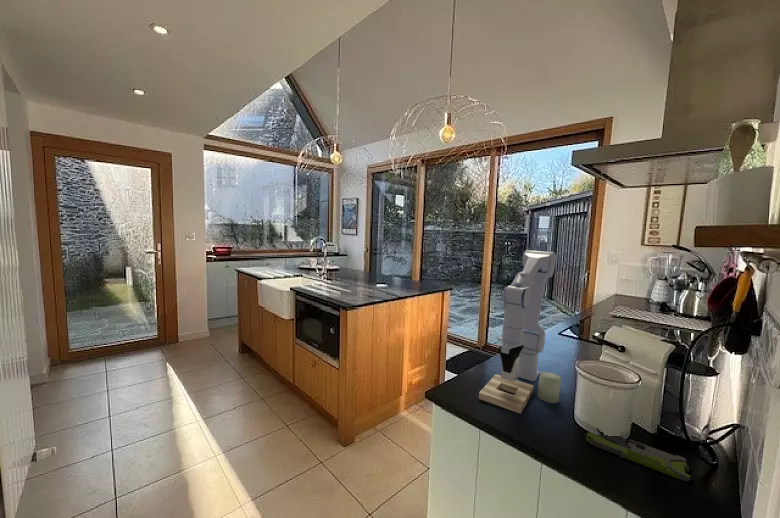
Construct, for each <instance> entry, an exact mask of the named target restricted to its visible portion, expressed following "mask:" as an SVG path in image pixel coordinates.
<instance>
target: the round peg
mask: <svg viewBox="0 0 780 518" xmlns="http://www.w3.org/2000/svg"><path fill="white" fill-rule="evenodd" d="M538 378H539V379H538V387H537V395H536V396H537V398H538V399H539V400H540V401H543V402H546V403H549V404H558V403H559V400H560V390H561V382H562V378H561V376H559V375H558V374H556V373H553V372H549V371H541V372H540V373H539V377H538Z"/></svg>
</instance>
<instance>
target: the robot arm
mask: <svg viewBox="0 0 780 518" xmlns="http://www.w3.org/2000/svg"><path fill="white" fill-rule="evenodd" d="M556 256H557V255H556V253H555V251H541V250H529V249H526V250H524V252H523V255H522V261H521V262H522V265H523V268H522V271H519V272H518V273H517V274H516V275H515V277H514V279H513V281H512V282H511V284H510V285H508V286H505V288H504V289H503V292H502V293H503V294H502V302H503V304H502V305H503V306H502V309H503V310H504V311H503V312H504V313H503V323H502V333H501V334H502V336H498V337H497V340H498V341H500V342H501V346H499V347H498V348H497V352H498V353H499V356H500V358H501V359H500V360H501V368H502V367H503V371H504V372H507V373H511V371H512V368H513V364H514V361H515V358H516V356H517V355H520V358H519V368H518V378H520V379H523V380H526V381H530V382H533V383H534V382H535V381H536V380H537V378H539V377H538V376H540V373H541V372H540V371H539V370H538V363H539V362H538V361H539V354H540V353H542V352H543V351H544V348H545V341H546V338H545V337H546V331H545V330H544V329H543V327H541V326H540V324H539V321H540V315H541V310H542V309H541V308H542V305H543V304H542V302H543V299H544V291H545V287H546V283H547V280H548V279H550V278H552V277H553V275H554V273H555V268H556V261H557V257H556Z"/></svg>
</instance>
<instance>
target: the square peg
mask: <svg viewBox="0 0 780 518" xmlns="http://www.w3.org/2000/svg"><path fill="white" fill-rule="evenodd" d="M519 358H520V355H517V356H516V358H515V361H514V364H513V368H512V371H511V373H507V372H504V371H503V367H502V366H501V368H500V369H501V370H500V376H501V378H502V379H506V380H509V381H512V382H515V380H517V379H518V378H519V377H518V368H519Z"/></svg>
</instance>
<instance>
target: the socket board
mask: <svg viewBox="0 0 780 518" xmlns="http://www.w3.org/2000/svg"><path fill="white" fill-rule="evenodd" d="M534 387H535V385H533V384H531V383H527V382H523V381H520V380H517V379H516V380H515V382H512V381H509V380H506V379H502V378H501V374H496V373H495V374H494V375H493V376H492V377H491V379H489V381H488V382H487V383H486V384H485V386H484V387H483V388H481V390H480V391H479V392H478V400H481V401H484V402H487V403H489V404H492V405H495V406H498V407H500V408H504V409H506V410H509V411H512V412H515V413H518V414H520V415H522V412H523V411H524V409H525V407H526V405H527V404H528V403H529V400H530V398H531V396H532V394H533V393H534ZM505 391H506V392H505ZM508 392H509V393H508ZM511 393H513V394H511Z"/></svg>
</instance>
